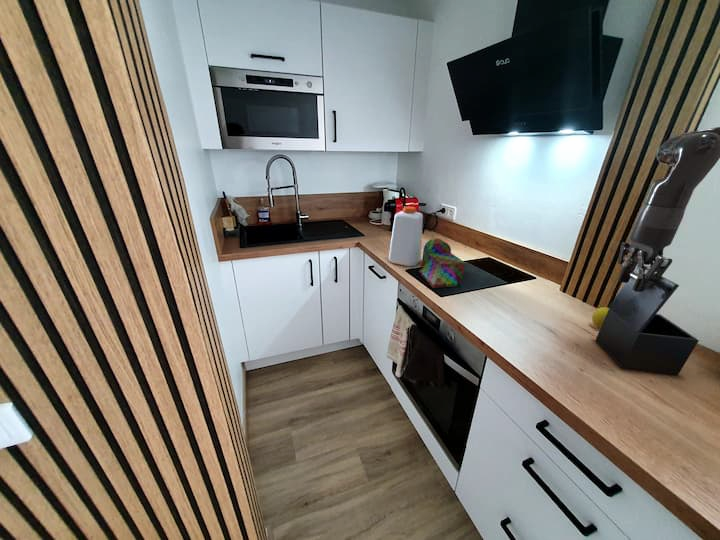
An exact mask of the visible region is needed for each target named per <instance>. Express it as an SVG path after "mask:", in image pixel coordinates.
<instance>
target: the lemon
mask: <svg viewBox="0 0 720 540" xmlns="http://www.w3.org/2000/svg"><path fill="white" fill-rule="evenodd" d="M608 307H609V306H606V307H598V308H597V309H595V311H594V312H593V313H592V315H591V320H592V323H593V324H594V325H595V326H596V327H597V329H600V328H601V326H602V324H603V321H604V319H605V317H606V315H607V312H608V310H609V309H610V308H608Z"/></svg>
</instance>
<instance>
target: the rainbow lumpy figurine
mask: <svg viewBox="0 0 720 540" xmlns="http://www.w3.org/2000/svg"><path fill="white" fill-rule="evenodd" d="M421 266H422V268H420V270H418V274H419V276H421V277H422V278H423V279H424V280H425V281H426V282H427V283H428V285H430V286H431V287H432V288H433V289H439V288H450V287H457V286H458V281H462V280H463V278H464V273H465V267H466V262H465V261H463V260H462V258H459V257H458V256H456V255H455V254H453V253H452V248H451V246H450V245H449V244H448V243H447V242H445V240H442V239H441V238H438V237H434V238H431V239H429V240H428V241H426V243H425V245H424V246H423V252H422V257H421Z"/></svg>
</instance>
